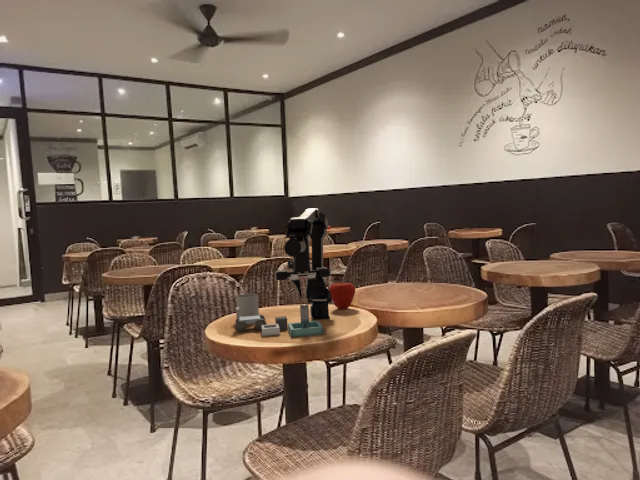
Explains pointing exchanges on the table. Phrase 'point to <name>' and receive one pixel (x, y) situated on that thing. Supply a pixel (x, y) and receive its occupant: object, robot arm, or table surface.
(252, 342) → the table surface
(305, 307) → the pin
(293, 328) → the tray
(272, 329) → the socket
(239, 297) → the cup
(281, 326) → the dark grey cube
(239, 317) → the trolley
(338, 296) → the apple
